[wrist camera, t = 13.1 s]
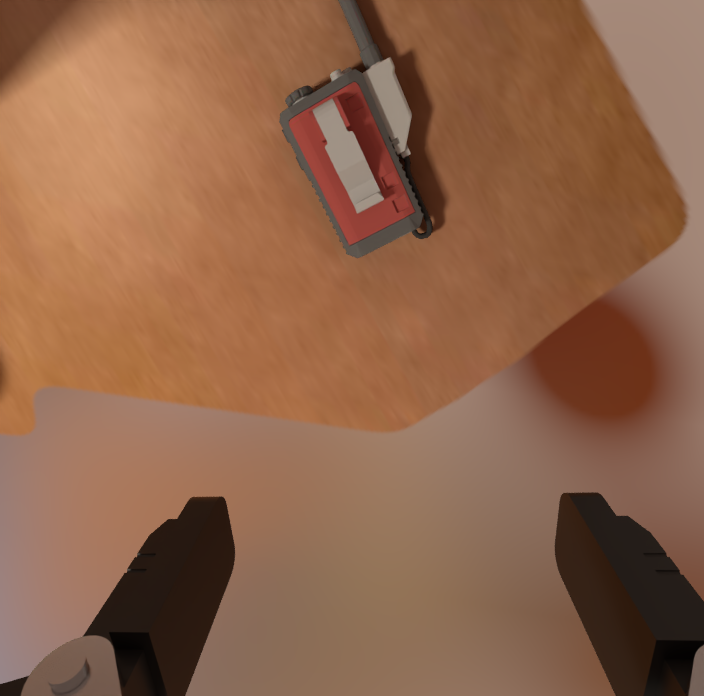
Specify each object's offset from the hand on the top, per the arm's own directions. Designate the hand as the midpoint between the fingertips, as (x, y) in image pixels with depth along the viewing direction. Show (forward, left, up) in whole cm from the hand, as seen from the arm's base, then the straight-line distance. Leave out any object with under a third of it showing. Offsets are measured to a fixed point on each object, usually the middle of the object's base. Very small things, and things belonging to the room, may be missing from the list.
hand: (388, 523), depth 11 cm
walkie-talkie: (-2, +12, -29) cm, 31 cm away
